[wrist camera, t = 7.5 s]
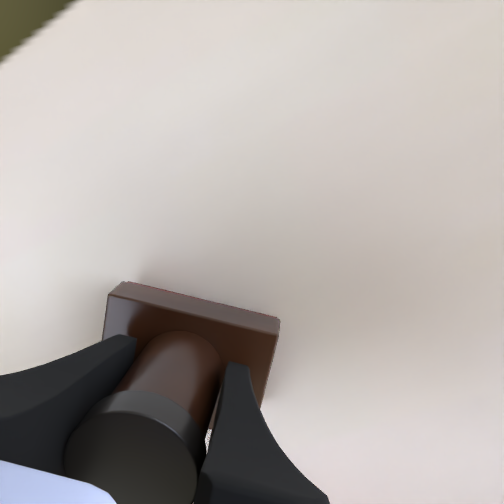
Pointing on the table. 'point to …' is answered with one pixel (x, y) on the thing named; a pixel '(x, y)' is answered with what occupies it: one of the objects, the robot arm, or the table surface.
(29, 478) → the robot arm
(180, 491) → the stamp
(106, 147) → the table surface
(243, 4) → the table surface
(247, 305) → the table surface
